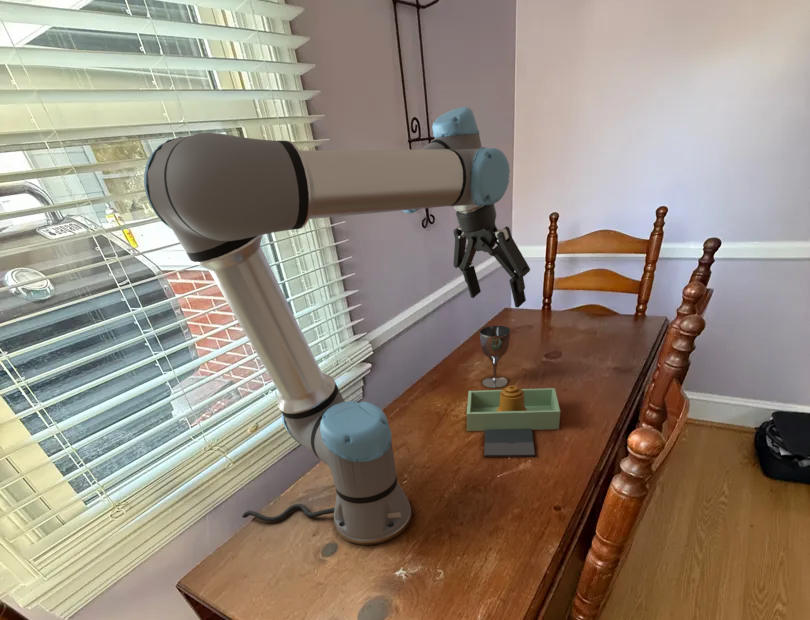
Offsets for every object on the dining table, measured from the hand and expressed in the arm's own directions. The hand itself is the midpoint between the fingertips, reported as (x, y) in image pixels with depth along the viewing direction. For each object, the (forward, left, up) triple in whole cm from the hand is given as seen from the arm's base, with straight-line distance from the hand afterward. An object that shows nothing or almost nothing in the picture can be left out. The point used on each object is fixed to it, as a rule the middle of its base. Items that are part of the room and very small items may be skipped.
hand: (497, 299), depth 108 cm
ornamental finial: (+4, -6, -28) cm, 28 cm away
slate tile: (+3, -18, -28) cm, 33 cm away
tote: (+4, -6, -28) cm, 29 cm away
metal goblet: (0, +15, -28) cm, 32 cm away
